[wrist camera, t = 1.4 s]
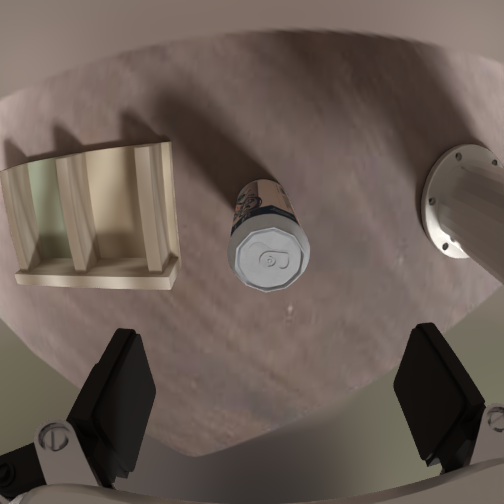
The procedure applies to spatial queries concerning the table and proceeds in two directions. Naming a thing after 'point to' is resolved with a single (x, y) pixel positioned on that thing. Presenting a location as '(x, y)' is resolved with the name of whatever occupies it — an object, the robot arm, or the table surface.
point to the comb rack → (95, 219)
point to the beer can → (267, 238)
